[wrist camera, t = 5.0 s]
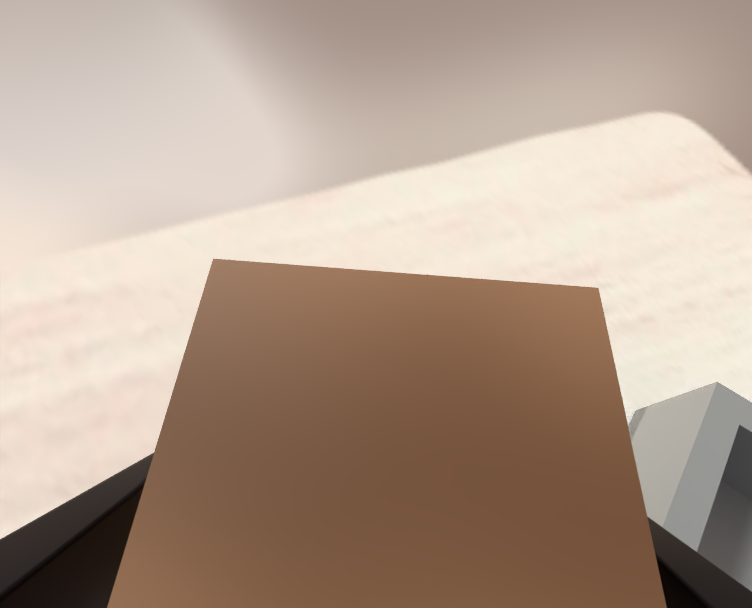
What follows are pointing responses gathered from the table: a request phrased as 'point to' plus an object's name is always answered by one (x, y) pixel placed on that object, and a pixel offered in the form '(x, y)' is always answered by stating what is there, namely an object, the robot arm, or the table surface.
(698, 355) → the table surface
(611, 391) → the walnut block
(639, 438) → the box
